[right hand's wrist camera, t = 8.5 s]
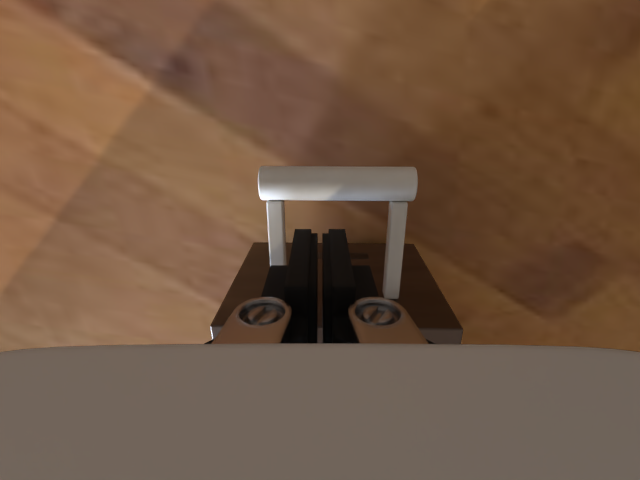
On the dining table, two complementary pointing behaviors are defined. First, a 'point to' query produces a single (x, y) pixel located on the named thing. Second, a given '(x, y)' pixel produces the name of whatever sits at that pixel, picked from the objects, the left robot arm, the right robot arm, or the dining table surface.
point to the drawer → (384, 259)
